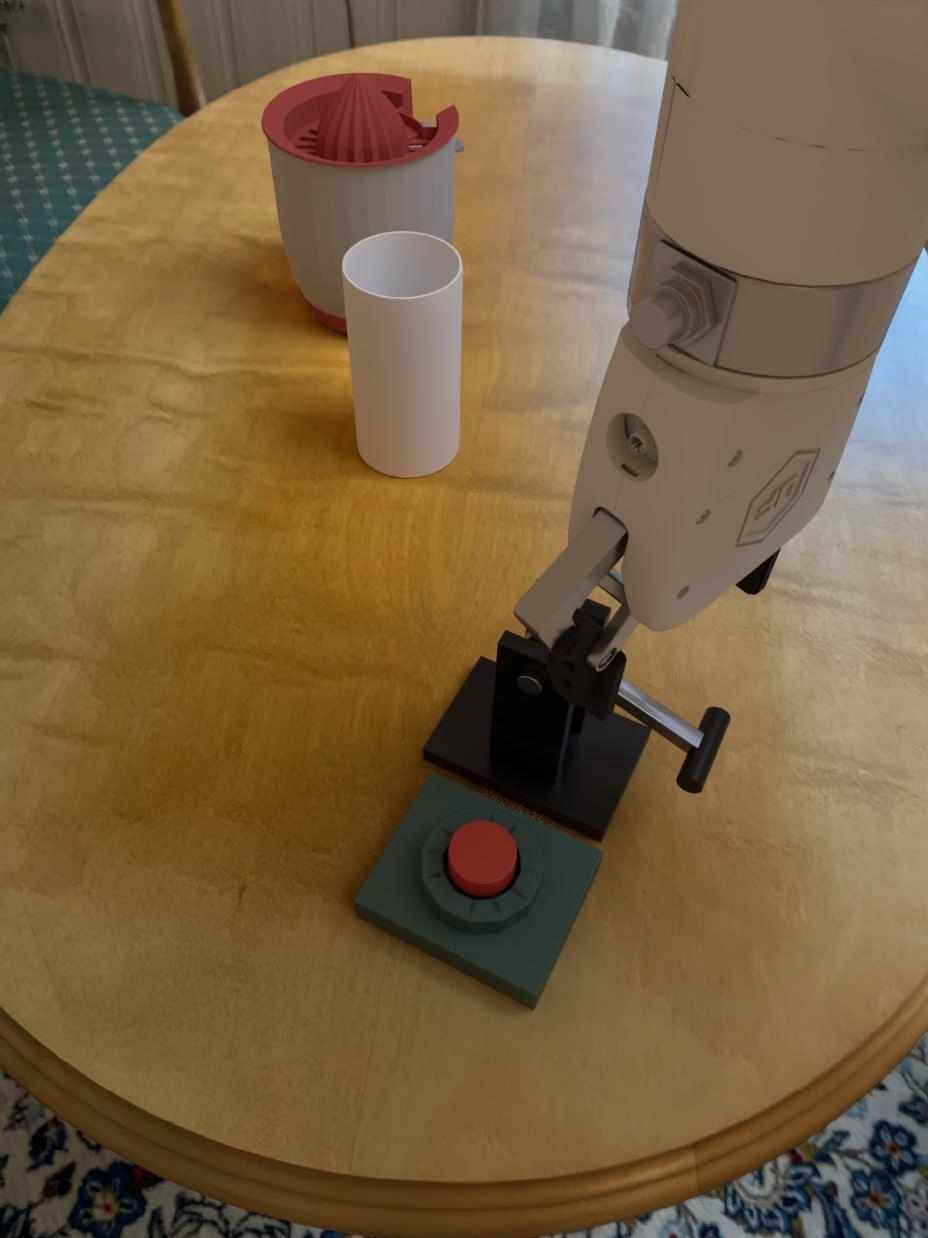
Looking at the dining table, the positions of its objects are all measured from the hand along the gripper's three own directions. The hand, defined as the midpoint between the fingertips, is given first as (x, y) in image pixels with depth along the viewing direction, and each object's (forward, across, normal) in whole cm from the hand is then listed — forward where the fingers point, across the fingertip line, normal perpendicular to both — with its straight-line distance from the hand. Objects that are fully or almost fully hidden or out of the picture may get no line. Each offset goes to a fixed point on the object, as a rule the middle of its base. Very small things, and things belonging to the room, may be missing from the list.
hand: (658, 631), depth 41 cm
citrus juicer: (+21, +25, +51) cm, 60 cm away
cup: (+21, +14, +34) cm, 42 cm away
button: (+17, -7, +2) cm, 18 cm away
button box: (+20, -7, +2) cm, 22 cm away
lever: (+12, +3, +3) cm, 13 cm away
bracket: (+20, +2, +7) cm, 22 cm away
